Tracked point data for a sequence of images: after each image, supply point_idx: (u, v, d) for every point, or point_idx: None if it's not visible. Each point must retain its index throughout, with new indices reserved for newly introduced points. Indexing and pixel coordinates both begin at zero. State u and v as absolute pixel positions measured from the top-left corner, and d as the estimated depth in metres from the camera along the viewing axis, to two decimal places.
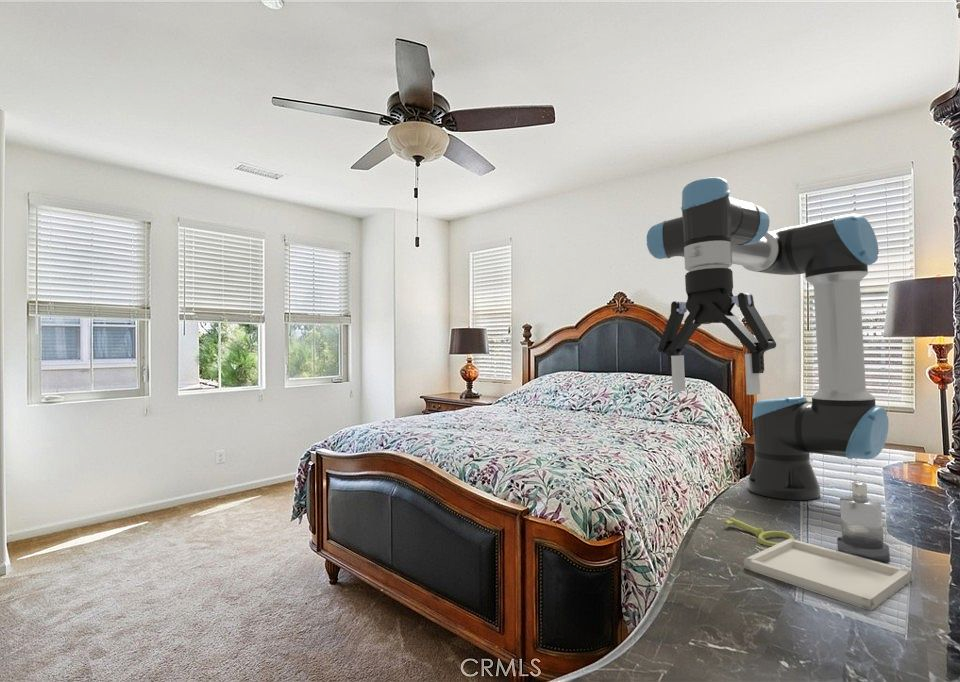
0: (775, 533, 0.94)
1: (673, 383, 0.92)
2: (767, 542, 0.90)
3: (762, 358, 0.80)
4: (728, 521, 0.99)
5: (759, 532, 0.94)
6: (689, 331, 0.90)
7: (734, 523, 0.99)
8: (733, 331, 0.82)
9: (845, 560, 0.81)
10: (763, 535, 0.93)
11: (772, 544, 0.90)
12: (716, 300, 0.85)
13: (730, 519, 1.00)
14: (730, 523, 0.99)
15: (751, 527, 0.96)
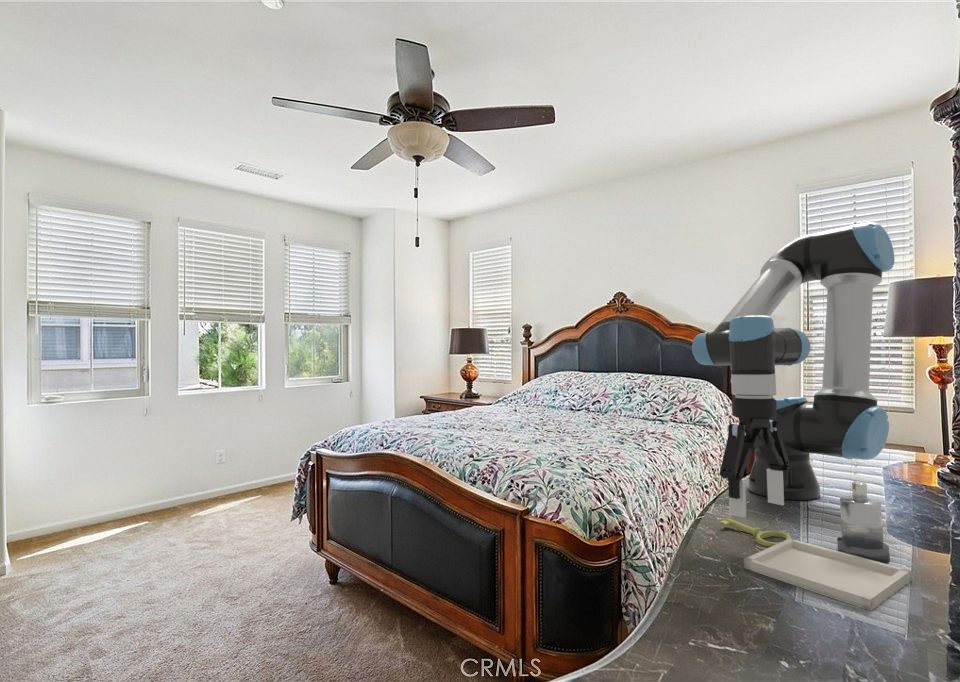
0: (771, 532, 0.94)
1: None
2: (766, 542, 0.90)
3: (734, 485, 0.90)
4: (724, 522, 0.99)
5: (756, 532, 0.95)
6: (764, 449, 0.98)
7: (730, 523, 0.99)
8: None
9: (845, 560, 0.81)
10: (761, 535, 0.93)
11: (771, 544, 0.90)
12: None
13: (726, 519, 1.00)
14: (726, 523, 0.99)
15: (748, 527, 0.96)
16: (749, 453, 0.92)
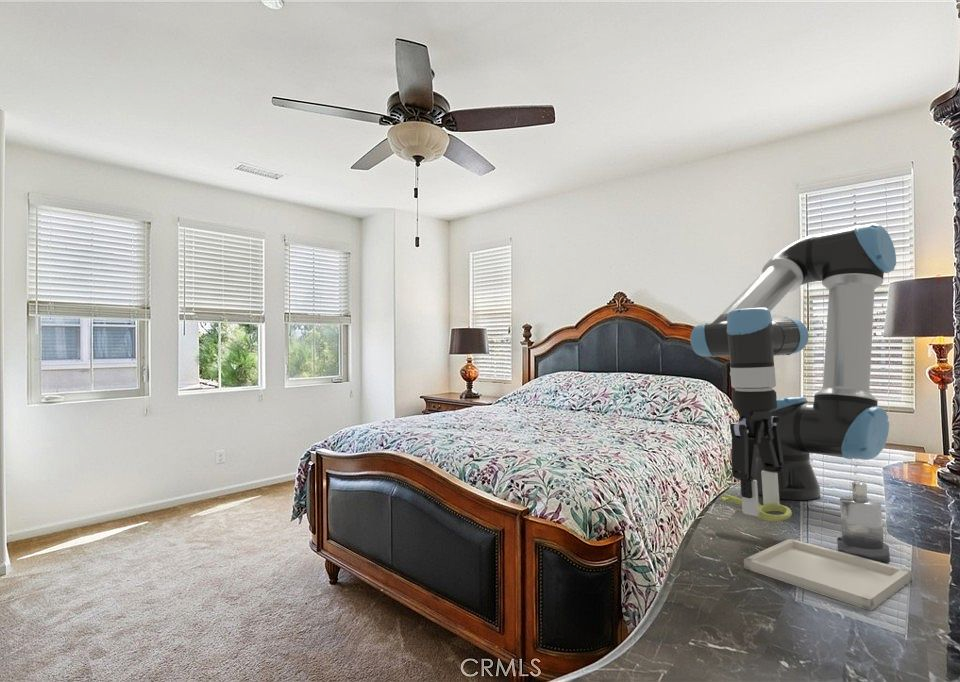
0: (771, 506, 0.96)
1: None
2: (769, 514, 0.91)
3: (746, 485, 0.92)
4: (724, 498, 1.00)
5: None
6: (761, 445, 0.97)
7: (729, 499, 1.00)
8: None
9: (845, 560, 0.81)
10: (762, 509, 0.94)
11: (773, 517, 0.91)
12: None
13: (725, 495, 1.01)
14: (726, 499, 1.00)
15: None
16: (755, 449, 0.93)
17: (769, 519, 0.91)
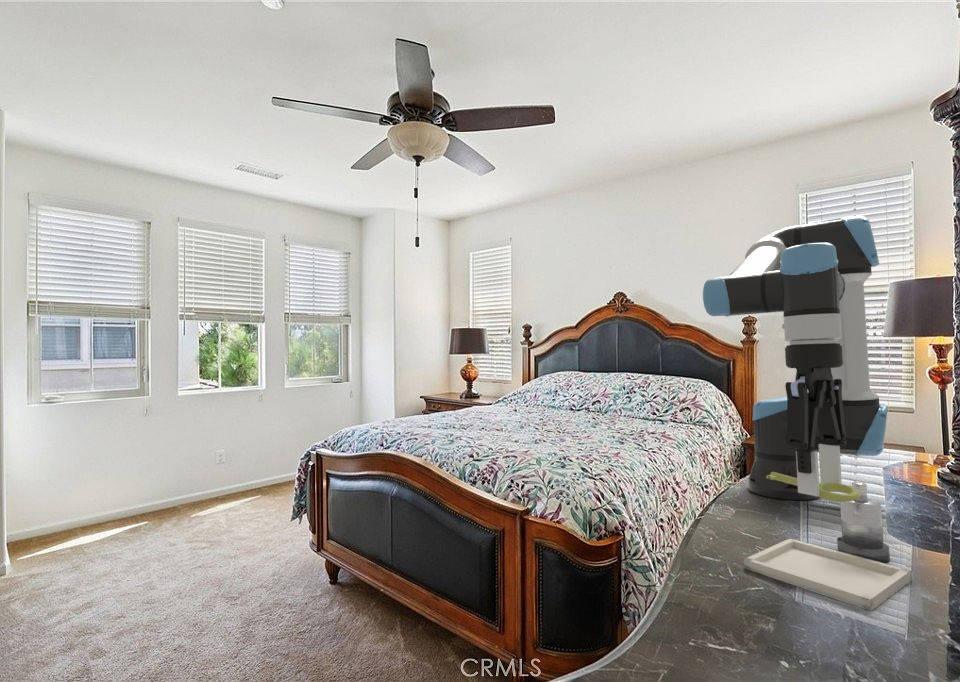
0: (831, 485, 0.78)
1: None
2: (833, 493, 0.74)
3: (804, 457, 0.75)
4: (771, 476, 0.83)
5: None
6: (820, 412, 0.80)
7: (777, 477, 0.83)
8: None
9: (845, 560, 0.81)
10: (822, 487, 0.77)
11: (839, 496, 0.73)
12: None
13: (772, 473, 0.84)
14: (774, 478, 0.82)
15: None
16: (816, 414, 0.76)
17: (833, 499, 0.74)
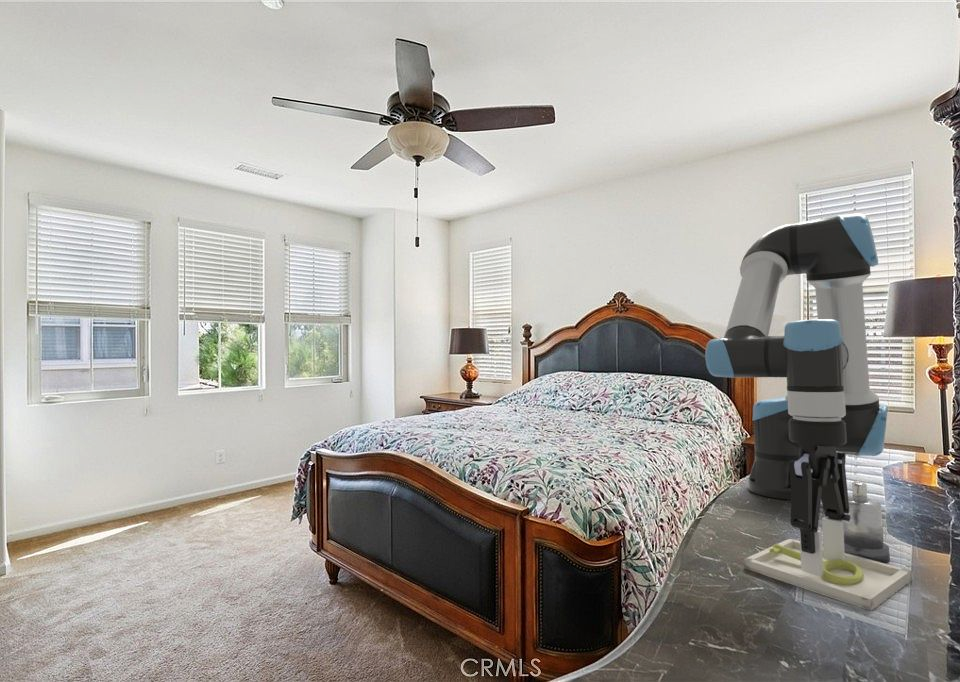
0: (835, 562, 0.78)
1: None
2: (837, 576, 0.73)
3: (808, 537, 0.75)
4: (775, 549, 0.82)
5: None
6: (824, 486, 0.80)
7: (781, 550, 0.83)
8: None
9: (845, 560, 0.81)
10: (825, 567, 0.76)
11: (843, 579, 0.73)
12: None
13: (776, 546, 0.83)
14: (777, 551, 0.82)
15: None
16: (819, 493, 0.76)
17: (837, 582, 0.73)
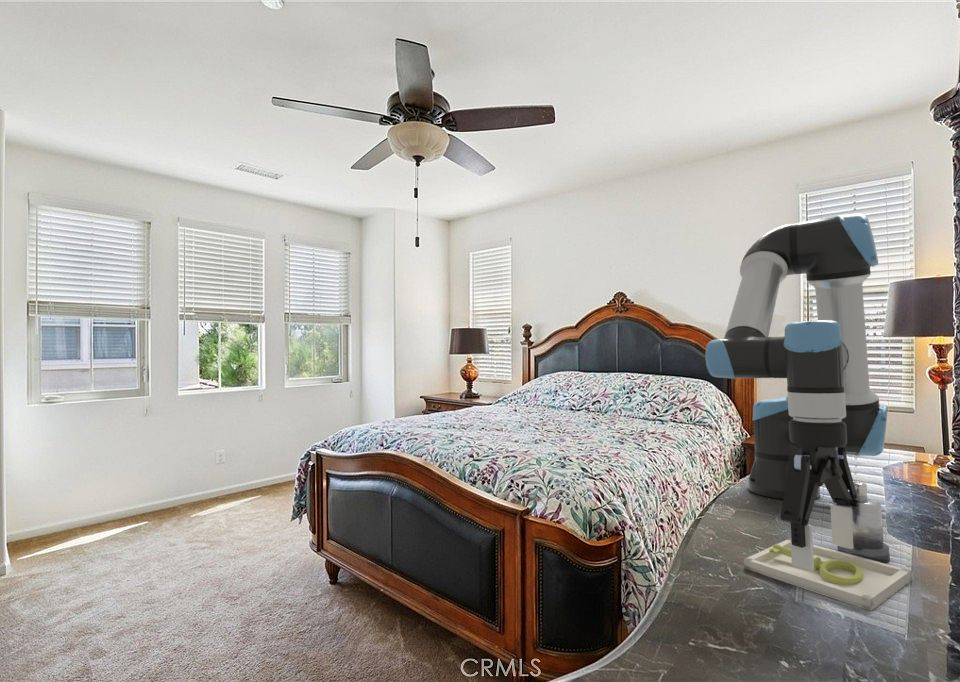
0: (835, 562, 0.78)
1: None
2: (837, 576, 0.73)
3: (798, 531, 0.73)
4: (774, 549, 0.82)
5: (817, 563, 0.78)
6: (828, 482, 0.81)
7: (780, 551, 0.83)
8: None
9: (845, 560, 0.81)
10: (825, 567, 0.76)
11: (843, 579, 0.73)
12: None
13: (775, 546, 0.83)
14: (777, 551, 0.82)
15: None
16: (815, 490, 0.75)
17: (837, 582, 0.73)
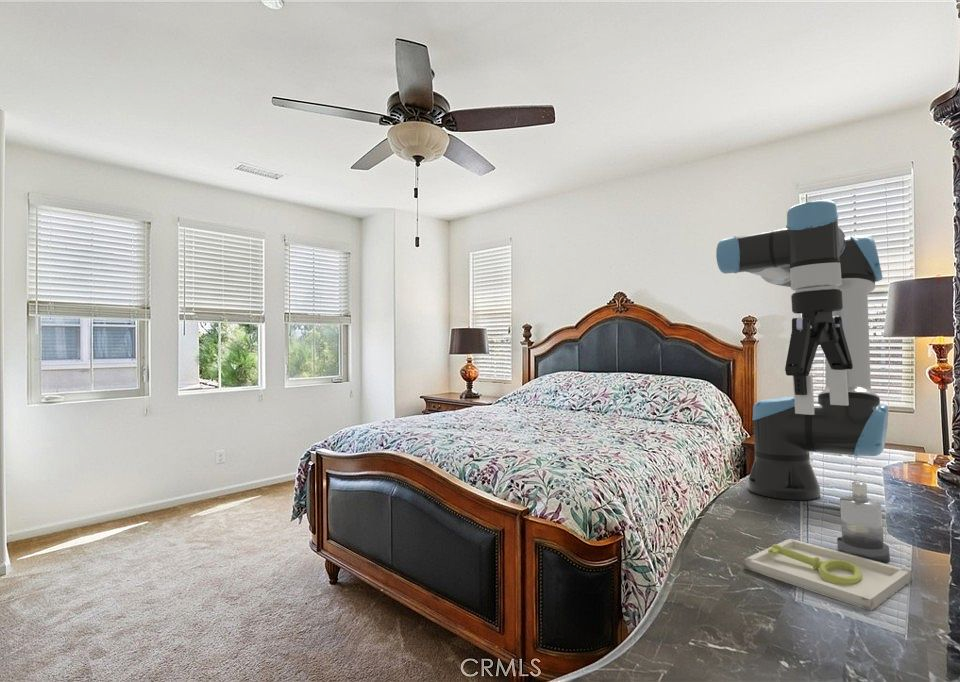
0: (834, 562, 0.78)
1: None
2: (836, 576, 0.73)
3: (800, 381, 0.84)
4: (773, 549, 0.82)
5: (817, 563, 0.78)
6: (826, 347, 0.92)
7: (779, 551, 0.82)
8: None
9: (845, 560, 0.81)
10: (824, 567, 0.76)
11: (842, 579, 0.73)
12: None
13: (774, 546, 0.83)
14: (776, 552, 0.82)
15: (804, 556, 0.80)
16: (815, 347, 0.86)
17: (836, 582, 0.73)
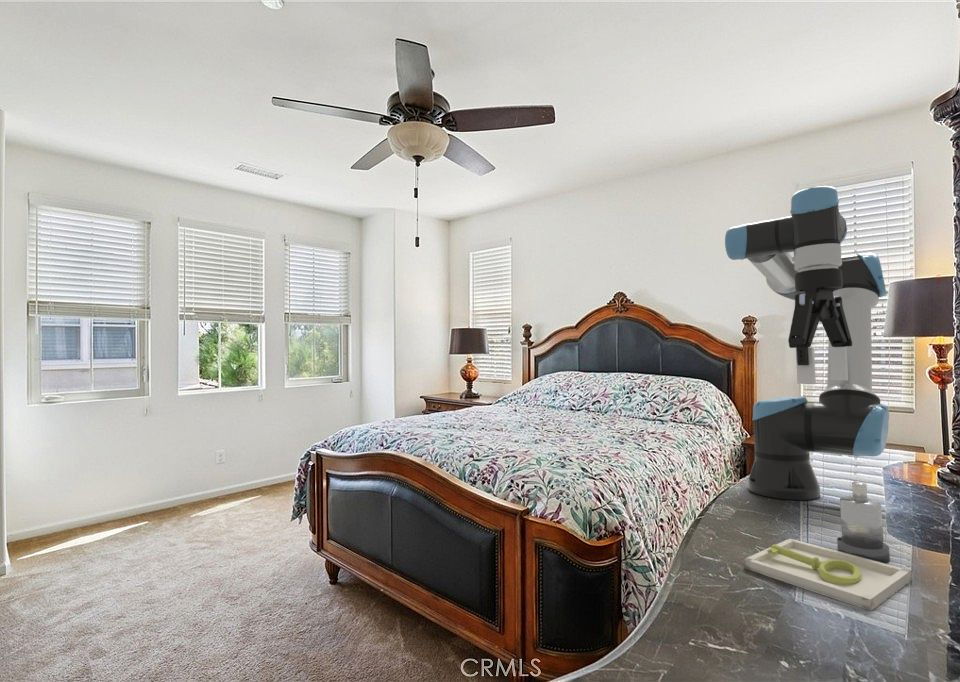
0: (833, 562, 0.78)
1: None
2: (836, 576, 0.73)
3: (803, 352, 0.90)
4: (773, 550, 0.82)
5: (816, 563, 0.78)
6: (827, 325, 0.98)
7: (778, 551, 0.82)
8: None
9: (845, 560, 0.81)
10: (824, 567, 0.76)
11: (842, 579, 0.73)
12: None
13: (773, 546, 0.83)
14: (775, 552, 0.82)
15: (803, 556, 0.80)
16: (816, 322, 0.92)
17: (836, 582, 0.73)
